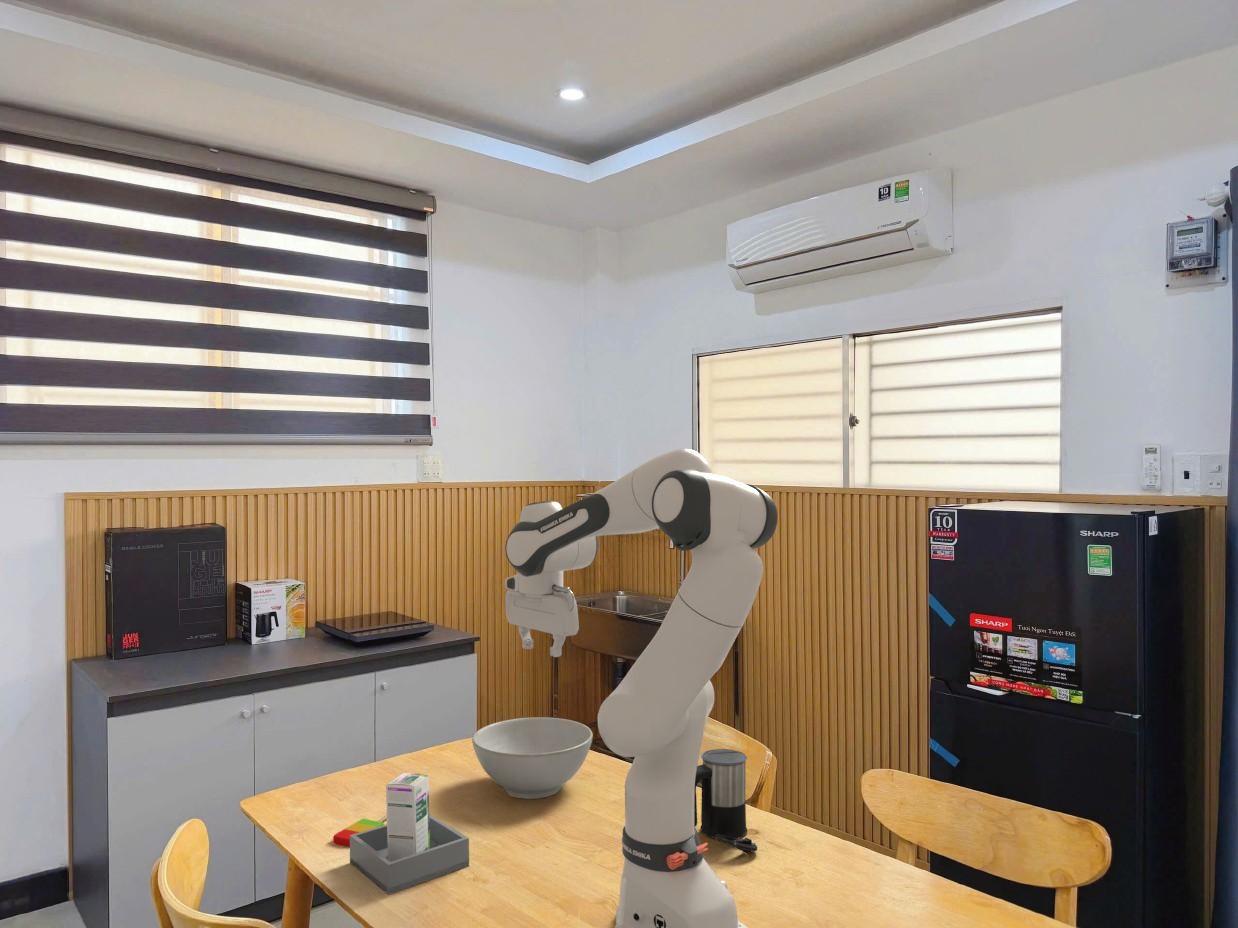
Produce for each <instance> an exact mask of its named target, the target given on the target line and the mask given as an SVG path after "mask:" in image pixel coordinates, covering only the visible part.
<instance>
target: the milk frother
mask: <svg viewBox="0 0 1238 928" xmlns="http://www.w3.org/2000/svg"><path fill="white" fill-rule="evenodd" d="M700 757H701V758H702V764H700V765H697V770H696V777H695V802H694V827H695V828H696V827H697V825H698V806H697V805H698V804H697V803H698V802H697V801H698V800H697V786H698V784H699V783H700V781H701V803H700V804H701V807H700V809H701V811H700V812H701V813H700V814H701V815H700V819H701V820H700V822H701V825H700V830H701V831H700V832H702V834H704V835H705V836H707V837H709V838H712V839H716V840H717V841H718V842H720V843H722V844H725V845H727V846H728V845H729V846H731V847H732V848H735V849H737V850H738V851H742V853H744V854H747V855H749V854H750V852H757V851H758V845H757V844H756V842H753V841H752V839H751V838H747V837H744V836H746V835H747V834H748V827H747V812H746V810H747V809H746V808H747V807H746V804H747V803H746V802H747V801H746V796H747V795H746V788H747V787H746V785H747V783H746V781H747V777H746V776H747V775H746V773H747V771H746V768H747V767H746V765H747V763H746V761H747V760H748V756H747V755H746V753H744V752H742V751H740V750H739V751H738V750H735V749H731V748H730V749H728V748H714V749H709V750H705V751H703V752H702V753H701V755H700ZM743 837H744V838H743Z"/></svg>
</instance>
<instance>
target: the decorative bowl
mask: <svg viewBox="0 0 1238 928" xmlns="http://www.w3.org/2000/svg"><path fill="white" fill-rule="evenodd" d="M593 736H594V735H593V730H591V728H590V727H589V726H587V725H586V724H583V723H581V722H579V721H575V720H571V719H565V718H558V717H545V716H544V717H543V716H542V717H541V716H540V717H539V716H538V717H534V716H533V717H520V718H512V719H506V720H502V721H498V722H493V723H491V724H488V725H486V726H483V727H481V728H480V729H478V730H477V731H475V733H474V734H473V736H472V738H471V741H472V746H473V749H474V750H473V751H474V753H475V755H476V758H477V760H478V762H479V763H480V766H481V767H482V769H483V770H484V772H485V773H486V774H487V775H488V777H489V778H490V779H491V780H493V782H495V783H496V784H497V785H498V786H500V787H502V788H504V789H505V792H506V793H507V794H508V795H510V796H511V797H514V798H518V799H524V800H525V799H526V800H534V799H536V800H537V799H542V798H547V797H550V796H553V795H555V794H557V793H559V792H560V790H561V789H562V787H561V786H562V785H564V784H566V783H567V782H569V781H571V779H573V777H574V776H575V774H577V773H578V772H579V770H580V768H581V767H582V766H583V764H584V762H585V760H586V758H587V756H588V754H589V751H590V749H591V745H592V743H593V738H594V737H593Z"/></svg>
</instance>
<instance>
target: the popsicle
mask: <svg viewBox="0 0 1238 928" xmlns="http://www.w3.org/2000/svg"><path fill="white" fill-rule="evenodd" d="M385 821H387V814H386V815H385V816H383V817H381V818H378V819H377V820H371V819H366V818H362V819H360V820H358V821H356V822H354V823H352V824H351V825H349V826H347V827H345V828H344V829H342V830H340V831H338V832H336V833H334V834H333V837H332V838H333V839H332V843H333V845H337V846H341V847H346V848H350V835H353V834H356V833H359V832H363V831H366V830H369V829H373V828H376V827H379V826H383V825H385V823H384V822H385Z"/></svg>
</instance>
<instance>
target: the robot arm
mask: <svg viewBox="0 0 1238 928" xmlns="http://www.w3.org/2000/svg"><path fill="white" fill-rule="evenodd" d="M778 515H779V514H778V508H777V506H776V503H775V501H774V500H773V498H772V497H771V496H770V495H769V494H768V492H765V491H764V490H762V489H761V488H758V487H757V486H755V485H752V484H748V483H743V482H740V481H738V480H735V479H731V478H729V477H728V476H725V475H721V474H717V473H716V474H715V473H712V469H711V467H710V465H709V463H708V460H706V458H705V457H704V456H703V455H701V453H699V452H698V451H695V450H694V449H690V448H684V447H683V448H682V447H681V448H677V449H674V450H671V451H668V452H665V453H663V454H660V455H658V456H656V457H654V458H651V459H650V460H648V461H646V462H644V463H643V464H641V465H639V466H637V467H636V468H634V469H632V470H631V471H630V472H628V473H626V474H625V475H623V476H622V477H620V478H618V479H616V480H615V481H613V482H611V483H610V484H608V485H606V486H605V487H602V488H599V490H596V491H595V492H593V493H591V494H590V495H588V496H585V497H584V498H581V499H580V500H578V501H576V502H573V503H571V504H569V505H568V506H566V507H562V505H561V503H560V502H557V501H554V500H553V501H552V500H546V501H545V500H544V501H538V502H537V501H536V502H530V503H527V504H526V505H525V506H523V507H522V508H521V513H520V516H519V517H520V518H519V521H518V522H517V524H516V525H515V526H514V527H513V528H512V529H511V531H510V533H509V534H508V535H507V539H506V541H505V547H504V548H505V550H504V551H505V555H506V558H507V561H508V562H509V564H510V565H511V567H512V568H513V569H514V570H515V571H516V572H517V573H516V574H514V575H511V576H509V577H506V578H505V579H504V588H505V589H506V592H505V616H506V620H507V622H508V624H510V625H514V626H518V634H519V636H520V638H521V642H522V643H521V644H522V646H521V647H522V648H523V649H526V650H533V648H534V644H535V642H534V639H532V636H531V632H530V631H531V630H536V631H539V632H543V633H548V634H552V639H553V640H554V642H553V644H552V646H549V655H550V656H551V657H554V658H559V657H561V656H562V653H563V652H562V647H563V645H564V643H565V641H566V637H571V636H576V635H577V634H578V632H579V629H580V627H579V626H580V625H579V623H580V622H579V613H578V610H579V609H578V605H577V600H576V598H575V594H574V592H572V590H571V588H570V587H568V586H564V572H565V571H573V570H580V569H584V568H587V567H589V566H591V565H592V564H593V562H594V561H595V559H596V558H597V556H598V552H599V538H598V537H599V536H600V537H602V536H615V535H630V534H631V535H632V534H642V533H647V532H651V531H655V530H657V529H660V531H662V532H663V533H664V534H665V535H666V536H667V537H669V538H670V539H671V542H672V544H673V546H674V547H675V548H676V549H677V550H678V551H683V552H686V551H690V552H691V558H692V559H691V565H690V568H689V570H688V573H687V574H686V576H685V578H684V580H683V582H682V584H681V585H680V588H679V589H678V591H677V593H676V596H675V597H674V600H673V601H672V603H671V605H670V607H669V608H668V610H667V613H666V615H665V617H664V619H663V621H662V623H661V625H660V627H659V628H658V630H657V631H656V633H655V635H654V636H653V637H652V639H651V641H650V642H649V644H647V646H646V647H645V649H644V650H643V651H642V652H641V654H640V655H639V656H638V658H637V659H636V661H635V662H634V663H633V664H632V666H631V668H630V669H629V670H628V672H627V673H626V675H625V676H624V677H623V679H622V680H621V681H620V683H619V684H618V685H617V686H616V688H615V689H614V690H613V691H612V692H611V693H610V694H609V695H608V696H607V697H606V698H605V700H603V702H602V703H601V705H600V707H599V710H598V713H597V727H598V728H597V729H598V733H599V735H600V736H601V739H602V741H603V743H604V744H605V746H606V747H607V748H608V749H609V750H610V751H611V752H612V753H614V754H616V755H618V756H620V757H623V758H633V762H632V763H631V766H630V768H629V769H628V772H627V774H626V777H625V782H624V826H623V828H622V835H621V836H622V837H621V849H622V851H621V852H622V855H623V857H624V860H623V869H622V873H621V874H622V875H621V879H620V887H619V895H618V896H619V897H618V899H619V900H618V905H617V908H616V909H617V910H616V913H615V917H614V919H615V926H614V928H749V927H748V926H746V925H745V924H744V923H742V922H741V921H740V920H739V919H738V911H737V904H736V901H735V898H734V896H733V894H732V893H731V892H730V891H729V888H728V885H727V883H726V881H725V880H723V879H720V878H719V876H718V875H717V874H716V873H715V871H714V870H713V868H712V867H711V866H710V865H709V863H708V862H707V861H706V860H705V858H704V852H706V851H708V850H709V849H708V848H707V846H708V845H709V843H708V842H704V843H702V844H701V840H700V836H699V833H698V831H697V828H696V827H694V802H695V777H696V770H697V766H698V763H699V758H700V753H701V748H702V744H703V737H704V734H705V728H706V724H707V721H708V719H709V716H710V714H711V711H712V710H713V708H714V706H715V705H714V704H715V688H714V685H713V683H712V681H711V679H712V677H713V676H714V675H715V674H716V673H717V672H718V671H719V670H720V669H721V667H722V665H723V663H724V661H726V658H727V656H728V654H729V652H730V650H731V649H732V647H733V645H734V643H735V641H736V638H738V635H739V633H740V631H741V630H742V628H743V626H744V624H745V622H746V620H747V618H748V616H749V614H750V612H751V609H752V607H753V605H754V602H755V600H756V597H757V595H758V591H759V587H760V585H761V581H762V579H763V575H764V562H763V561H762V558H761V556H760V555H759V554H758V553H757V551H756V550H755V549H759V548H761V547H763V546H764V545H765V544H767V543H768V542H769V541H770V540H771V539H772V537H773V536H774V534H775V531H776V529H777V525H778V521H779V520H778V519H779V517H778Z"/></svg>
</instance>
